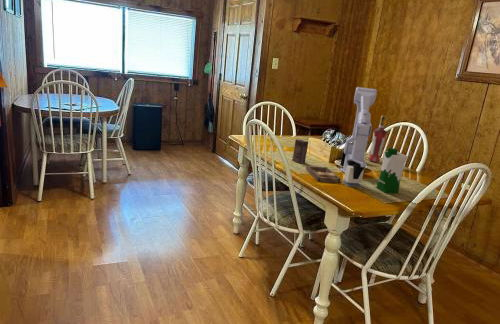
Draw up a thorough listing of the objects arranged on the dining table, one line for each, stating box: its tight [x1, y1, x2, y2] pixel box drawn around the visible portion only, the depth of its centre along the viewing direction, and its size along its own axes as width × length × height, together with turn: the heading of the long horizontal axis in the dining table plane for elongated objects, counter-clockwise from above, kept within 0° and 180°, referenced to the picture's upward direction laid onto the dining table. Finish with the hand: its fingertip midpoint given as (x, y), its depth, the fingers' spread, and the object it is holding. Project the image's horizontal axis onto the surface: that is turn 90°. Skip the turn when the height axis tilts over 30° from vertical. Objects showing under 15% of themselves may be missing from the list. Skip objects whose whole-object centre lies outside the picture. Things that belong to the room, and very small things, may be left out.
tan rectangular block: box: [316, 171, 337, 178], centre depth 175 cm, size 8×4×3 cm, turn 97°
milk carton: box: [375, 147, 409, 194], centre depth 167 cm, size 9×9×20 cm
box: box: [292, 138, 309, 164], centre depth 199 cm, size 6×4×12 cm
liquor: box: [368, 115, 387, 163], centre depth 219 cm, size 7×7×28 cm
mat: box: [340, 180, 364, 188], centre depth 172 cm, size 8×7×1 cm
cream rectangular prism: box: [343, 165, 365, 184], centre depth 171 cm, size 7×4×7 cm, turn 100°
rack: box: [305, 165, 342, 184], centre depth 180 cm, size 11×18×2 cm, turn 10°
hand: (353, 177), depth 171 cm, fingers closed on cream rectangular prism, 4 cm apart
